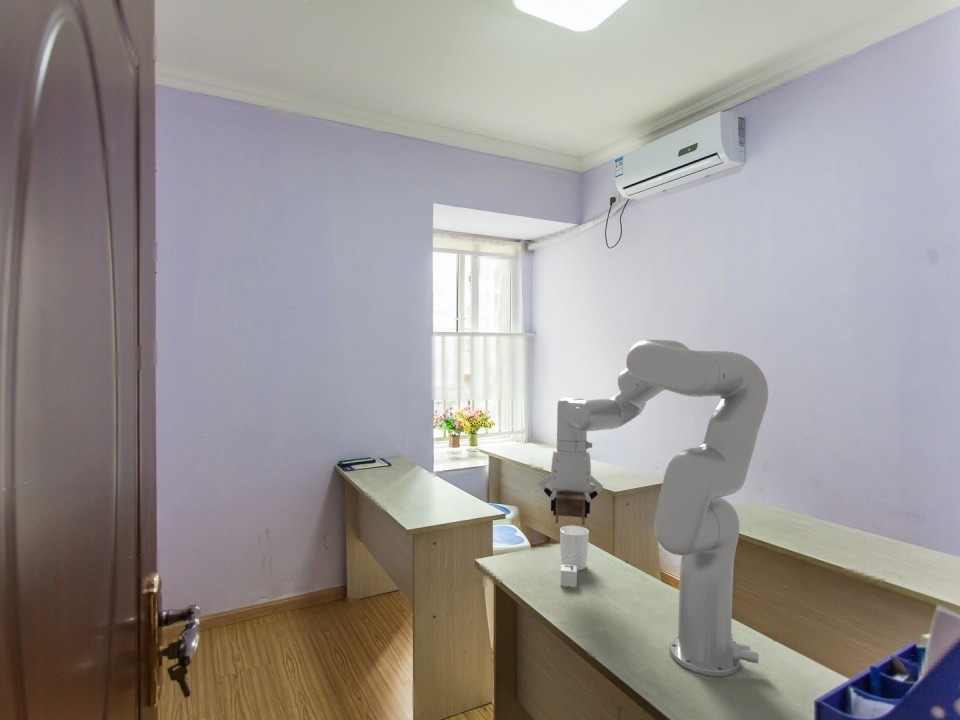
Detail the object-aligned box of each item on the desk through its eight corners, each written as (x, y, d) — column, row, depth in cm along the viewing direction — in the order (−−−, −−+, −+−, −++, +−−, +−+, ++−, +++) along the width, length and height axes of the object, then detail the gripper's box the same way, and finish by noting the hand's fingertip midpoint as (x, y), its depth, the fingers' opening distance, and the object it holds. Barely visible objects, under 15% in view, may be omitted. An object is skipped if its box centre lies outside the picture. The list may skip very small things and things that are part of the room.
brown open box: (583, 516, 139) (584, 490, 139) (584, 525, 132) (585, 497, 132) (556, 514, 140) (556, 488, 140) (555, 523, 133) (556, 495, 133)
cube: (576, 580, 138) (576, 565, 138) (576, 587, 134) (576, 571, 134) (560, 579, 138) (561, 564, 138) (560, 586, 134) (560, 570, 134)
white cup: (590, 571, 143) (591, 535, 143) (561, 571, 143) (562, 534, 143) (584, 560, 151) (585, 525, 151) (557, 560, 151) (557, 525, 151)
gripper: (605, 445, 138) (603, 513, 138) (538, 442, 141) (537, 508, 141) (607, 450, 130) (605, 522, 131) (536, 447, 133) (535, 517, 134)
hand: (570, 514), depth 136 cm, fingers closed on brown open box, 7 cm apart
